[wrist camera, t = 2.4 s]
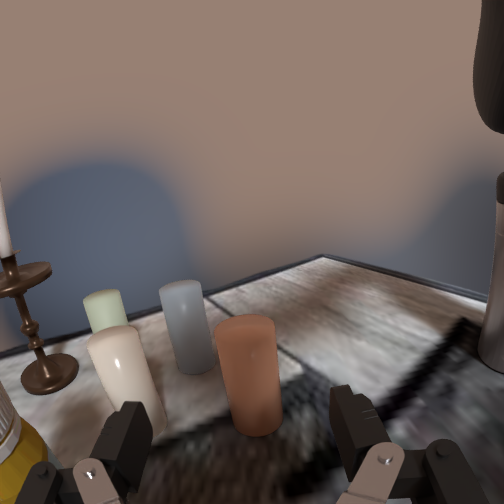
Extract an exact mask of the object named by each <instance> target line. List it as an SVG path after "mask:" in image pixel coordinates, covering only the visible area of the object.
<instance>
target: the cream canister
mask: <svg viewBox="0 0 504 504" xmlns="http://www.w3.org/2000/svg"><path fill="white" fill-rule="evenodd" d="M87 348H88V351H89V353H90V356H91V359H92V361H93V364H94V366H95V368H96V371H97V373H98V376H99V378H100V380H101V383H102V385H103V387H104V389H105V392H106V394H107V396H108V398H109V400H110V402H111V405H112V407H113V409H114V411H120V409H121V407H122V405H123V403H124V401H141V402H142V403H143V405H144V407H145V409H146V412H147V414H148V417H149V419H150V422H151V424H152V427H153V437H155V436H157V435H159V434H160V433H161V432H162V431H163V430H164V429H165V428H166V426H167V422H168V420H167V416H166V414H165V411H164V409H163V406H162V403H161V401H160V398H159V395H158V393H157V390H156V387H155V384H154V382H153V379H152V376H151V373H150V370H149V367H148V364H147V361H146V358H145V355H144V352H143V349H142V346H141V342H140V339H139V336H138V332H137V330H136V329H135V328H134V327H131V326H126V325H119V326H112V327H109V328H105V329H103V330H100V331H98V332H97V333H95V334H94V335H92V336H91V337H90V338H89V339H88V341H87Z"/></svg>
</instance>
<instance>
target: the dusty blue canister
mask: <svg viewBox="0 0 504 504" xmlns="http://www.w3.org/2000/svg"><path fill="white" fill-rule="evenodd" d="M159 294H160V298H161V303H162V307H163V311H164V315H165V319H166V323H167V327H168V331H169V335H170V339H171V343H172V346H173V350H174V354H175V357H176V361H177V364H178V368H179V370H180V371H181V372H183V373H185V374H190V375H195V374H201V373H204V372H207V371H208V370H210V369H211V368H212V367H213V366H214V365H215V356H214V352H213V347H212V342H211V337H210V332H209V327H208V322H207V317H206V312H205V307H204V301H203V296H202V291H201V286H200V283H199V282H198V281H195V280H181V281H176V282H172V283H170V284H167V285H165V286H163V287H162V288H161V289H160V290H159Z"/></svg>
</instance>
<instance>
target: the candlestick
mask: <svg viewBox="0 0 504 504" xmlns="http://www.w3.org/2000/svg"><path fill="white" fill-rule="evenodd" d="M20 251H21V250H16V251H13V248H12V244H11V239H10V235H9V230H8V225H7V219H6V214H5V208H4V202H3V195H2V187H1V180H0V259H1V263H2V267H3V270H4V271H3V272H1V273H0V298H4V297H8V296H9V297H10V298H15V301H16V304H17V307H18V310H19V313H20V316H21V319H22V321H23V324H22V325H21V327H20V330H21V332H22V333H23V334H24V335H25V336H27V337H28V339H29V341H30V343H29V344H28V347H29V349H32V350H34V352H35V354H36V357H37V360H36V361H34V362H32V363H31V364H30V365H28V366H27V367H26V368H25V370H24V371H23V373H22V375H21V383H22V385H23V387H24V389H25V390H26V391H27V392H28V393H30V394H33V395H47V394H51V393H54V392H57V391H59V390H61V389H63V388H65V387H66V386H67V385H69V384H70V383H71V382H72V381H73V380H74V379H75V377H76V375H77V374H78V365H77V363H76V360H75V358H74V357H72V356H71V355H68V354H62V353H59V354H51V355H47V356H46V355H45V352H44V350H43V348H42V346H43V344H44V340H43V339H41V338H39V336H38V333H37V332H38V331H39V324H38V322H37V321H35V320H32V319H31V316H30V314H29V311H28V308H27V305H26V302H25V299H24V296H23V294H24V293H25V292H27V289H29V288H31V287H34V286H36V285H37V284H39V283H41V282H43V281H45V280H46V279H47V278H48V277H50V276H51V275H52V269H51V265H50V263H49V262H35V263H29V264H25V265H21V266H18V265H17V261H16V257H15V254H16V253H18V252H20Z"/></svg>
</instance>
